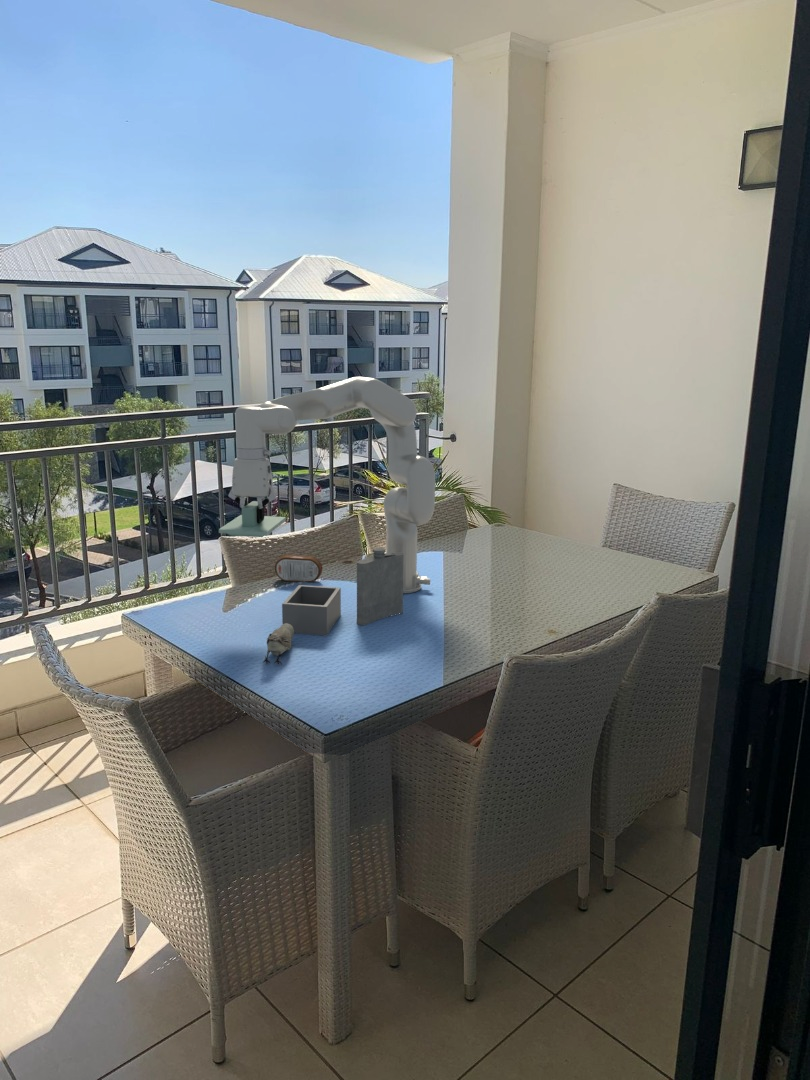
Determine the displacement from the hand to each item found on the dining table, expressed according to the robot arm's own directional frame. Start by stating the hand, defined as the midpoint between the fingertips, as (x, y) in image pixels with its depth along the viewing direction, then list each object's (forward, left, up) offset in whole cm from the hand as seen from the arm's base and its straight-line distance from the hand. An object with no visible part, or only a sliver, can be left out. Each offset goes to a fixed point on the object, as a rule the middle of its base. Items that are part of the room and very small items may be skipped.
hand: (253, 521), depth 212 cm
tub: (-17, +2, -27) cm, 32 cm away
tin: (-3, -33, -28) cm, 43 cm away
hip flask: (-34, -6, -28) cm, 44 cm away
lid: (0, 0, -3) cm, 3 cm away
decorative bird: (-14, +23, -28) cm, 39 cm away
